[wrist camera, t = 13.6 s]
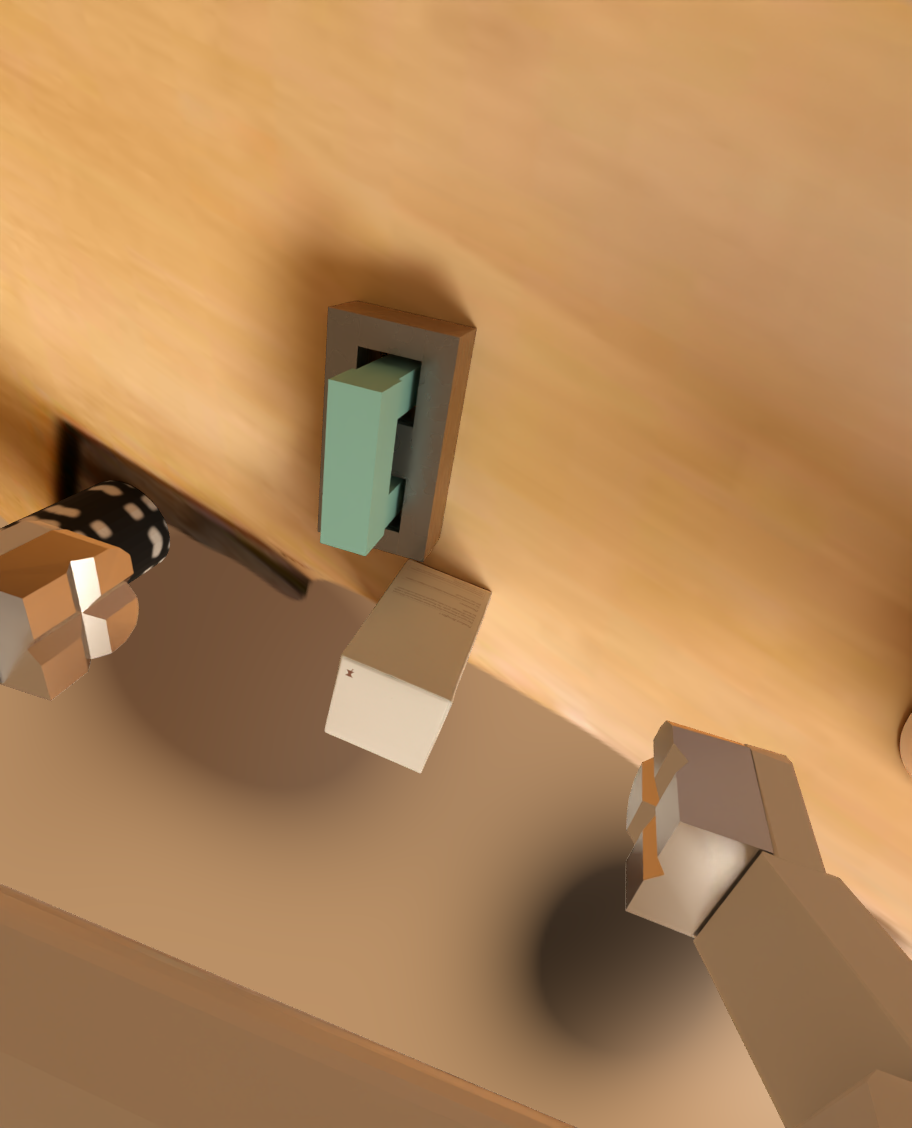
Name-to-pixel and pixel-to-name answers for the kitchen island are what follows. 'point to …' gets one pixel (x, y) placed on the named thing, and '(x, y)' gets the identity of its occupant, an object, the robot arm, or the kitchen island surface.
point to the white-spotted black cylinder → (112, 521)
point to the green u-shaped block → (364, 451)
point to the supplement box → (406, 665)
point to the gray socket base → (423, 428)
